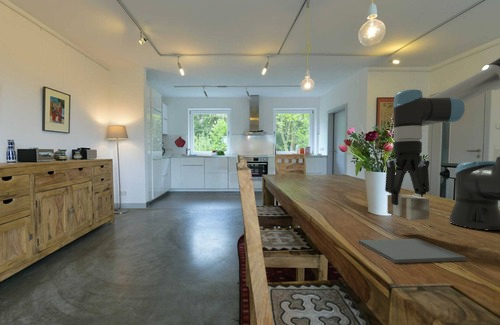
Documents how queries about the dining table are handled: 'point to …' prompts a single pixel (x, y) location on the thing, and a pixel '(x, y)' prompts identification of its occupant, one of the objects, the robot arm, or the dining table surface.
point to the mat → (410, 250)
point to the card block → (411, 207)
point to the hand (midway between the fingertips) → (407, 214)
